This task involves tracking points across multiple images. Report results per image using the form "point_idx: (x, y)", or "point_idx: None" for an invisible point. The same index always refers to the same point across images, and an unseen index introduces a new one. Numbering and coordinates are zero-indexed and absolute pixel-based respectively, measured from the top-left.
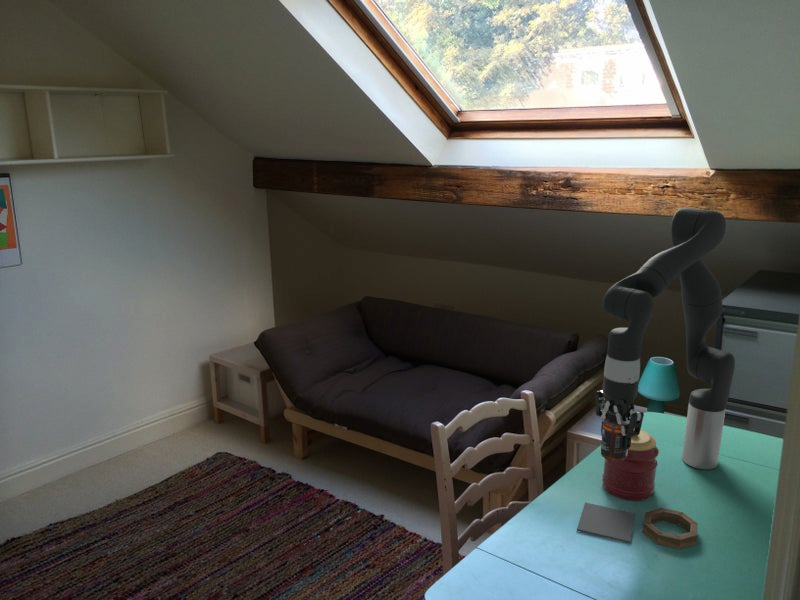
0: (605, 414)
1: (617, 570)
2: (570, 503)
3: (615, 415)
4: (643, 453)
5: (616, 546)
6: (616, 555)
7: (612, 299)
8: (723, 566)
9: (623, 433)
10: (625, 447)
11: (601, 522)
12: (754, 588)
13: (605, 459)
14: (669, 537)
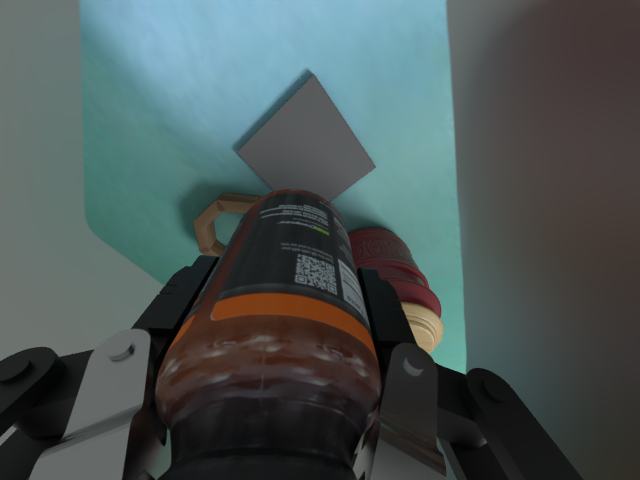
0: (375, 454)
1: (163, 52)
2: (395, 141)
3: None
4: None
5: (238, 118)
6: (212, 94)
7: None
8: (150, 236)
9: (105, 347)
10: (175, 273)
11: (308, 146)
12: (96, 234)
13: (410, 265)
14: (204, 211)
